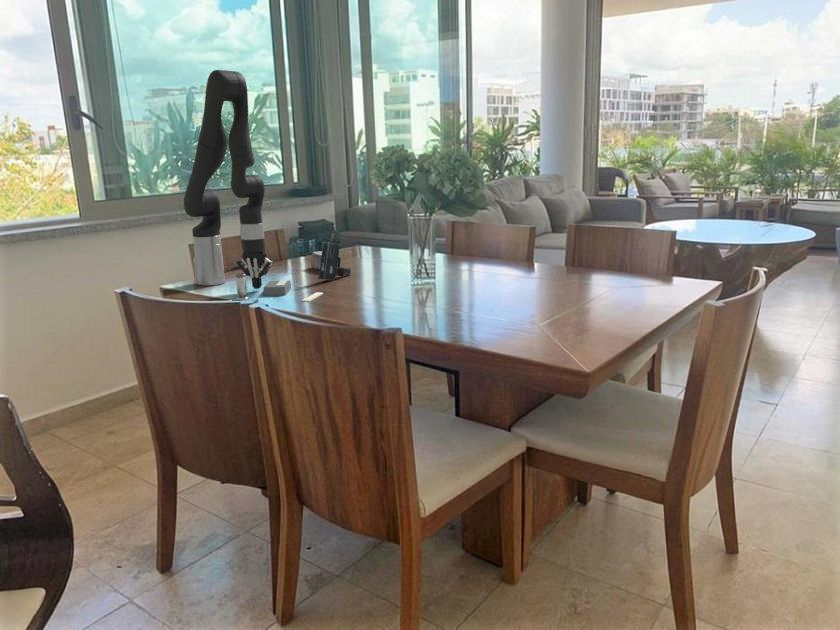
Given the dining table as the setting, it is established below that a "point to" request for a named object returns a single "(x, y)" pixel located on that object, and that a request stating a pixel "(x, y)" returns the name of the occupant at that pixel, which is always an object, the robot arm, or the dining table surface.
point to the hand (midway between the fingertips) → (257, 288)
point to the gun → (331, 261)
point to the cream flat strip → (312, 297)
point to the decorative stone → (316, 260)
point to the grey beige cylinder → (241, 287)
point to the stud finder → (277, 288)
